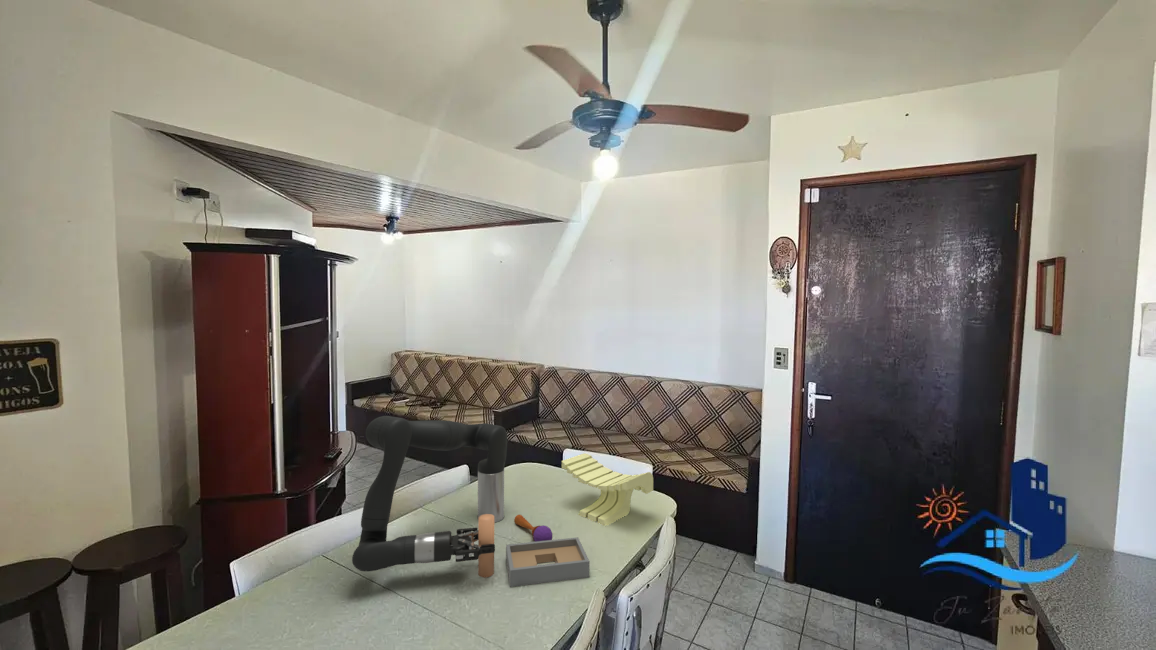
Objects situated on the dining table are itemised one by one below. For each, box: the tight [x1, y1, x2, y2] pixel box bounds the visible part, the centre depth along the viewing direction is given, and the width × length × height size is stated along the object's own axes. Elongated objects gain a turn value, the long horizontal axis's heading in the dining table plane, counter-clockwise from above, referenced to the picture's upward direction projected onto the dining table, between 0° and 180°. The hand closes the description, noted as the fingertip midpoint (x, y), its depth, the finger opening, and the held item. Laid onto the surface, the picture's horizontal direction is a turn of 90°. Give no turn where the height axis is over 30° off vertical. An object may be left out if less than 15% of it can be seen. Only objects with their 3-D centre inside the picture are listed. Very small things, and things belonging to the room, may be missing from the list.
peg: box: [477, 514, 495, 578], centre depth 134 cm, size 4×4×16 cm
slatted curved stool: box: [561, 452, 654, 527], centre depth 173 cm, size 30×16×18 cm, turn 48°
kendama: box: [513, 514, 553, 542], centre depth 156 cm, size 6×6×20 cm
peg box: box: [505, 537, 590, 588], centre depth 137 cm, size 14×22×4 cm, turn 103°
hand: (493, 541), depth 134 cm, fingers open, 7 cm apart
